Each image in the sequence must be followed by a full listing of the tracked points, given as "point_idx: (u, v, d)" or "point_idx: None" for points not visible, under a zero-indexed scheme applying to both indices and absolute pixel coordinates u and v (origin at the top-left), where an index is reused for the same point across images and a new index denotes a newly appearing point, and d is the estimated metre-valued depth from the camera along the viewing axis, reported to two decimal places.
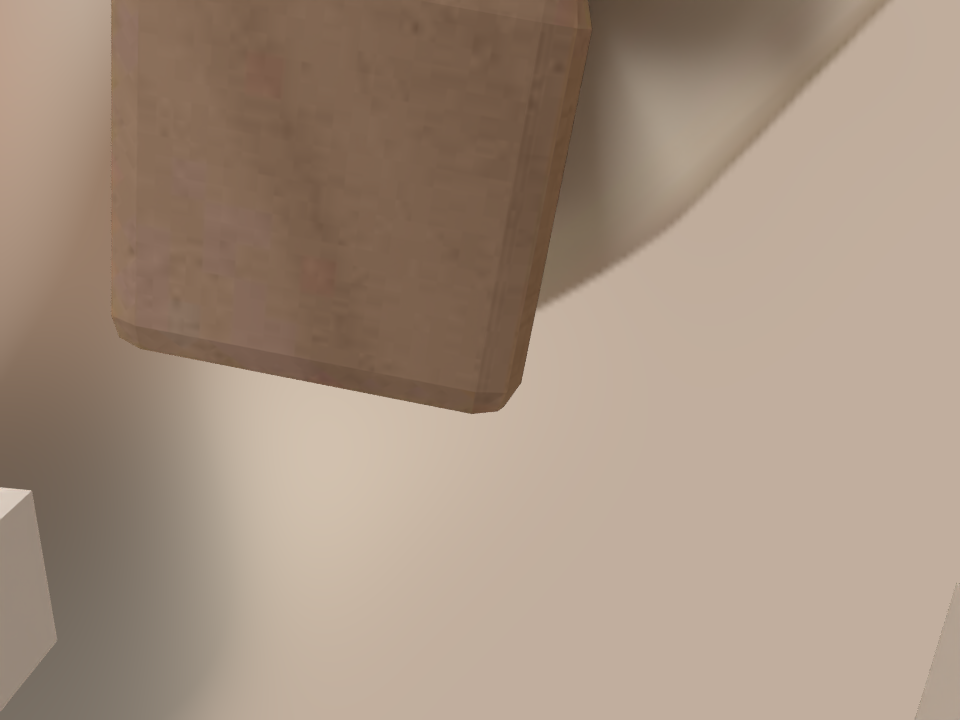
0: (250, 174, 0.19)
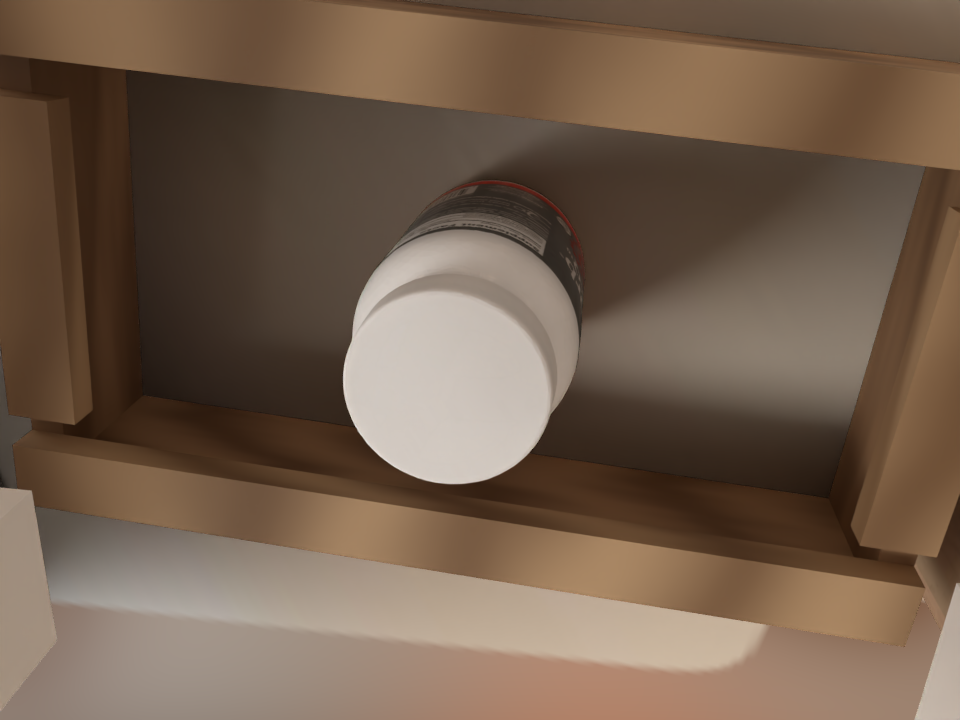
0: None
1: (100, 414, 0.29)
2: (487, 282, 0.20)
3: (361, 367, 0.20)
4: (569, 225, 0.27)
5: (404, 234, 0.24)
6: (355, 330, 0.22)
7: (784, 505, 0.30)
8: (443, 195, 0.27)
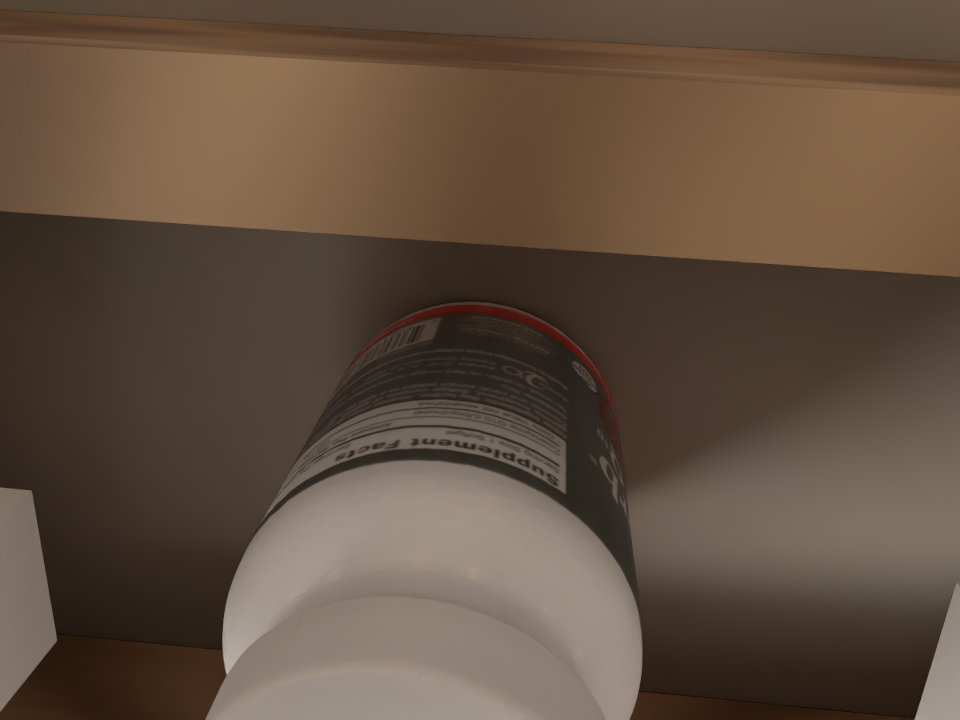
0: None
1: None
2: (465, 615, 0.09)
3: None
4: (591, 368, 0.17)
5: (317, 430, 0.14)
6: (225, 651, 0.12)
7: None
8: (386, 334, 0.17)
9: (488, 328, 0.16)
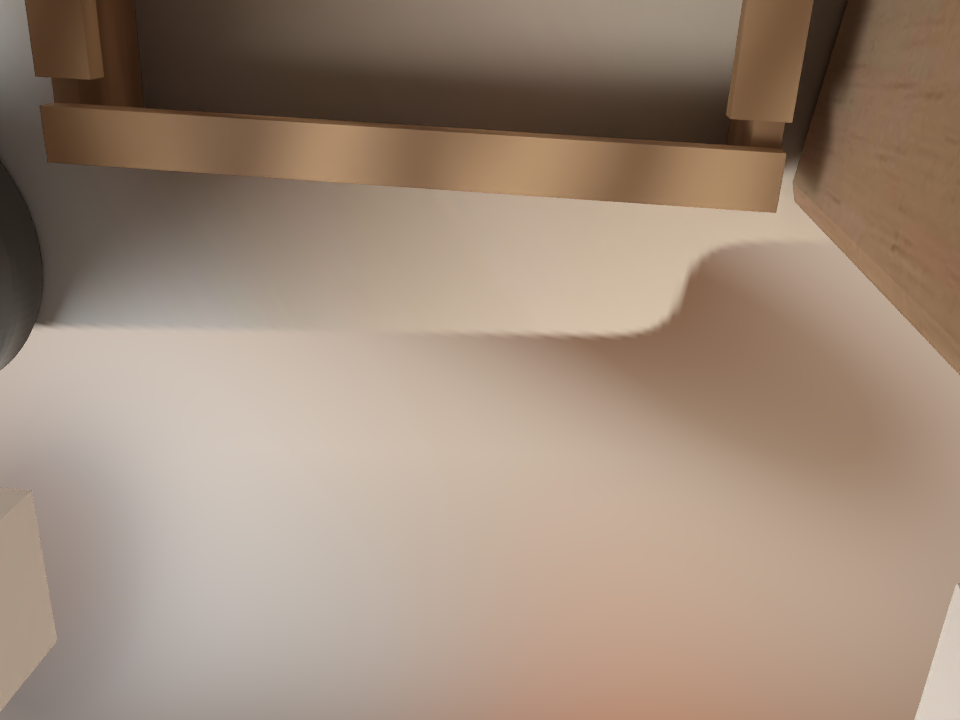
0: None
1: (110, 106, 0.35)
2: None
3: None
4: None
5: None
6: None
7: None
8: None
9: None
